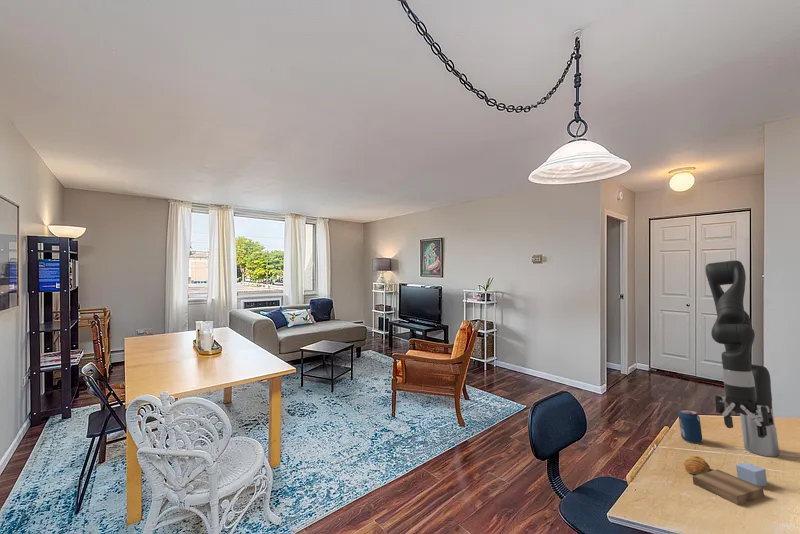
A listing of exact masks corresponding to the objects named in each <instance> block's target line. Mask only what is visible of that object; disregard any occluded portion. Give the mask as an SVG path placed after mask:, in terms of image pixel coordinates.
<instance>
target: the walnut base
mask: <svg viewBox="0 0 800 534" xmlns="http://www.w3.org/2000/svg"><path fill="white" fill-rule="evenodd" d="M692 482H693V483H692V484H693V485H695V486H697V487H698V486H699V487H698V488H701V489H703V490H705V491H707V492H709V493H710V494H711V493H712V494H713V495H715V496H717V495H718V496H717V497H719V496H720V498H722V499H724V500H726V501H728V502H729V503H733V504H735V505H736V506H740V505H743V504H745V503H749V502H752V501H755V500H758V499H760V498H763V497H765V493H764V488H763V486H762V487H759V486H757V485H755V484H752V483H750V482H747V481H745V480H742V479H740V478H738V476H735V475H732V474H730V473H728V472H725V471H723V470H721V469H713V470H711V471H708V472H706V473H702V474H699V475H696V474H694V475H692ZM742 503H743V504H742Z"/></svg>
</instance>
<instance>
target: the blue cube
mask: <svg viewBox="0 0 800 534" xmlns="http://www.w3.org/2000/svg"><path fill="white" fill-rule="evenodd" d="M735 468H736V474H737V476H736V477H738V478H740V479H742V480H745V481H747V482H750V483H752V484H755V485H757V486H759V487H762V488H763V487H765V486H768V480H767V473H766V469H765V468H763V467H760V466H757V465H754V464H753V463H749V462H747V461H745V462H741V463H738V464H737V463H736V467H735Z"/></svg>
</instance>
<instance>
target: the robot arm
mask: <svg viewBox="0 0 800 534" xmlns="http://www.w3.org/2000/svg"><path fill="white" fill-rule="evenodd" d="M705 275H706V278H707V281H708V282H707V283H708V285H709V288H710V292H711V296H712V298H713V301H714V305H715V306H714V307H715V310H716V320H715V322H714V324H713V326H712V327H711V338H712V339H713V341H715V342H716V343H717V344H720V345H724V349H725V350H724V351H723V352H721V363H722V364H721V365H722V380H723V386H724V394H725V396H724V395H722V394H721V395H720V394H719V395H715V398H714V399H715V412H716V413H717V414H720V415H722V416H723V420H724V426H726V428H727V429H733V428H734V423H733V414H734V413H735V414H739V416H740V423H741V430H742V431H741V432H742V439H743V447H744V450H746V451H747V452H750V453H753V454H755V455H759V456H762V457H763V456H764V457H772V458H773V457H778V456H780V448H779V442H778V441H779V439H778V433H777V427H776V423H775V417H774V410H773V396H772V384H771V383H772V381H771V375H770V372H769V370H768V369H767V367H766V366H763V365H758V364H752V361H751V353H752V348H753V345H754V341H755V337H756V336H755V335H756V334H755V333H756V332H755V330H754V329H753V326H752V322H751V317H750V315H749V314H748V313H747V312H746V310H745V309H744V308H745V307H744V306H745V305H744V297H745V290H746V279H747V277H746V271H745V267H744V265H743V263H742V262H741V261H740V260H727V261H718V262H710V263H707V264H706V265H705ZM726 285H730V287H729V288H728V289H727V290H726V291H724V290H723V288H722V286H726ZM725 403H726V404H727V405H728V406H726V408H725Z"/></svg>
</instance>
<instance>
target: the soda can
mask: <svg viewBox="0 0 800 534" xmlns="http://www.w3.org/2000/svg"><path fill="white" fill-rule="evenodd" d="M700 418H701V417H700V416H699V414H698V412H697V411H695V410H692V409H685V408H683V409H680V410H679V413H678V422H679V430H680V437H681V438H682V439H683V441H684V442H686V443H691V444H701V443H702V441H703V434H702V433H703V432H702V427H701V426H702V424H701V419H700Z"/></svg>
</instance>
